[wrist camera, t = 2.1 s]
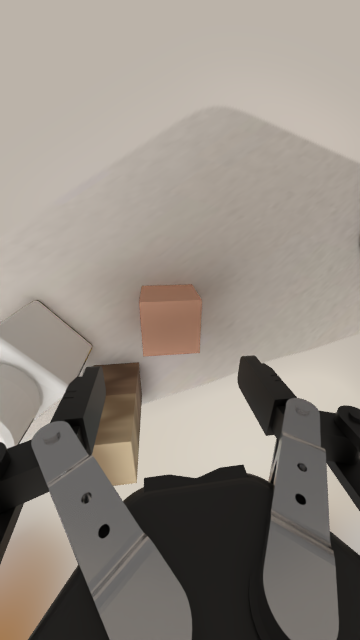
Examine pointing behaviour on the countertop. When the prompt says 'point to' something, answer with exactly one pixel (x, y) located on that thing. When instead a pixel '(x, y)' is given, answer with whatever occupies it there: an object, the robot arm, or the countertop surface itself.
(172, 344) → the clay block
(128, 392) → the tower bottom
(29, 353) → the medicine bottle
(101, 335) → the countertop surface
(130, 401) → the tower top
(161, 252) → the countertop surface
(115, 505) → the robot arm
